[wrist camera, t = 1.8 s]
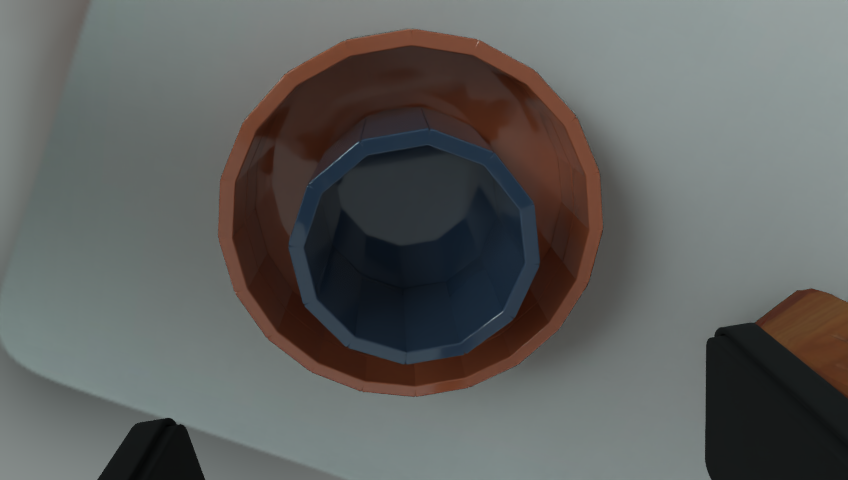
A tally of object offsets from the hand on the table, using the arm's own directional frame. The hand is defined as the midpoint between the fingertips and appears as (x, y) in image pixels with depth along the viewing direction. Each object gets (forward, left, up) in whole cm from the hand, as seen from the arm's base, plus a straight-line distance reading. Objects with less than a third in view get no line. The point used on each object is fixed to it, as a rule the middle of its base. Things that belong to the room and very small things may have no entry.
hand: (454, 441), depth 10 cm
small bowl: (0, 0, -14) cm, 14 cm away
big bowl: (0, 0, -14) cm, 14 cm away
